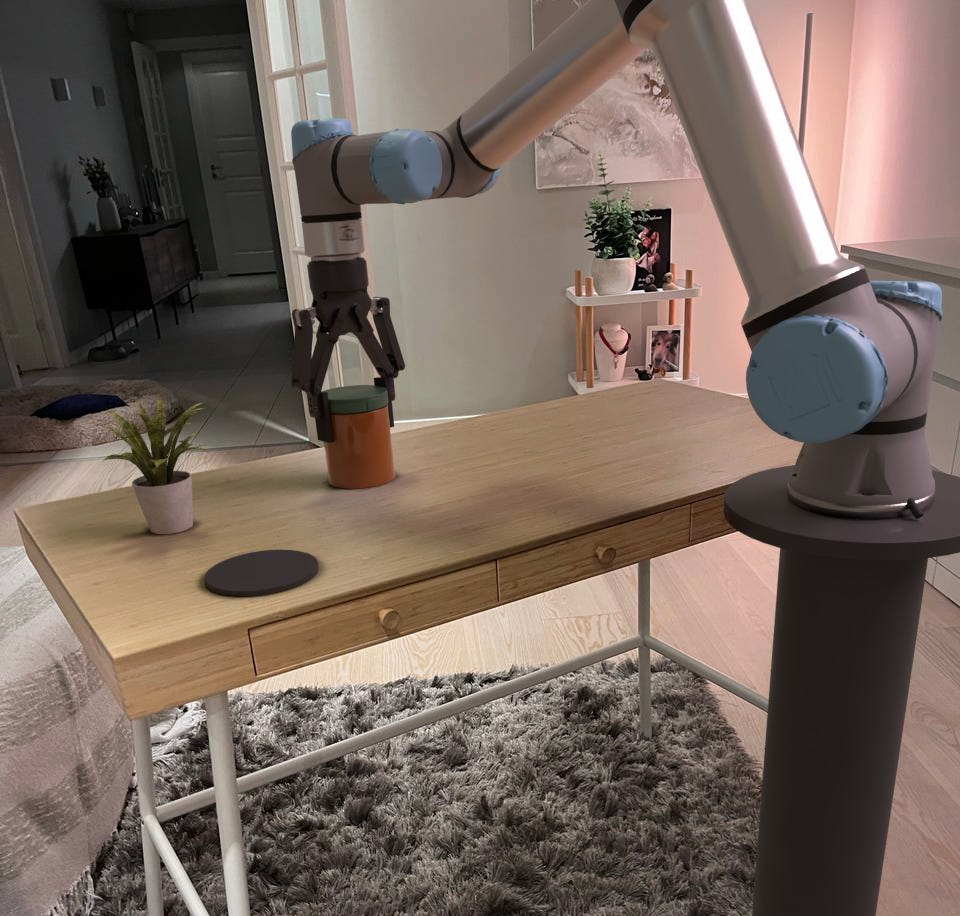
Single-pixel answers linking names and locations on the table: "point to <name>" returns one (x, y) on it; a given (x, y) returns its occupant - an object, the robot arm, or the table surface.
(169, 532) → the house plant
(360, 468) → the jar
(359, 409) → the jar lid
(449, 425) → the table surface
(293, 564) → the coaster
